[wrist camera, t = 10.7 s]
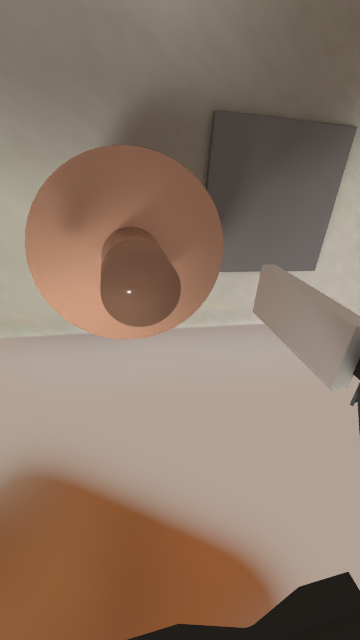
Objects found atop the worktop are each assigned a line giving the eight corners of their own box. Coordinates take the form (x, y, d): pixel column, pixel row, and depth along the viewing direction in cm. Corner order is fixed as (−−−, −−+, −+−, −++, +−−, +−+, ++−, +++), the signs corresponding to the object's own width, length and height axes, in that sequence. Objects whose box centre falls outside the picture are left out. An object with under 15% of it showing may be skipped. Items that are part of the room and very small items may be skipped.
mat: (198, 270, 33) (199, 272, 33) (213, 111, 26) (215, 110, 26) (312, 269, 37) (314, 270, 36) (353, 127, 30) (356, 127, 29)
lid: (46, 337, 22) (24, 404, 16) (9, 136, 16) (-49, 123, 10) (208, 326, 25) (241, 380, 19) (228, 153, 19) (288, 151, 13)
